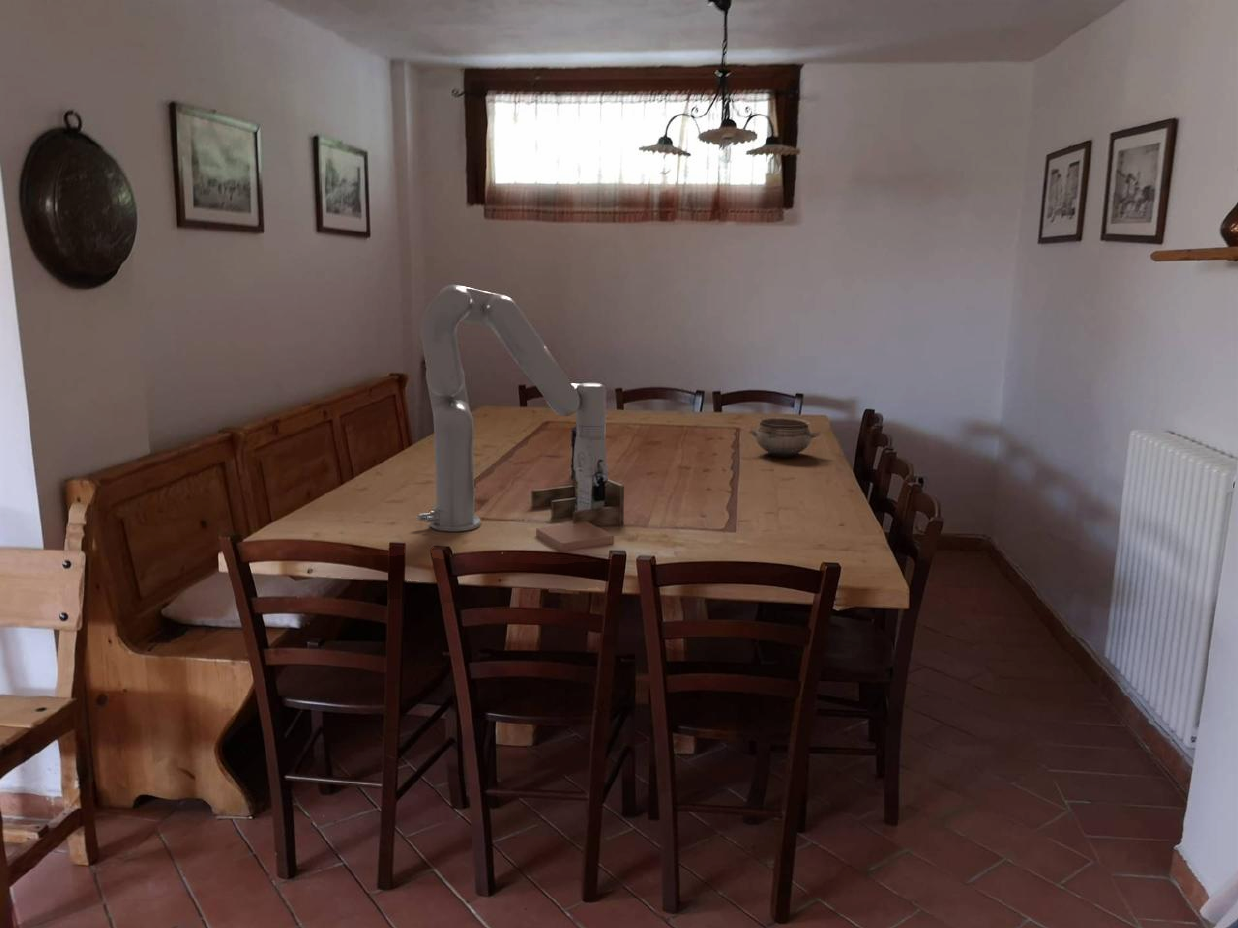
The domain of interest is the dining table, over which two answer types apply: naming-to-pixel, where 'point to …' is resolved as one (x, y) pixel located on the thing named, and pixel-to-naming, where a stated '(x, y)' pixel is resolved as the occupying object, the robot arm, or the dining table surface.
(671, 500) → the dining table surface
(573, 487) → the walnut rack
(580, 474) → the syrup box
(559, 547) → the terracotta tile
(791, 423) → the cooking pot
